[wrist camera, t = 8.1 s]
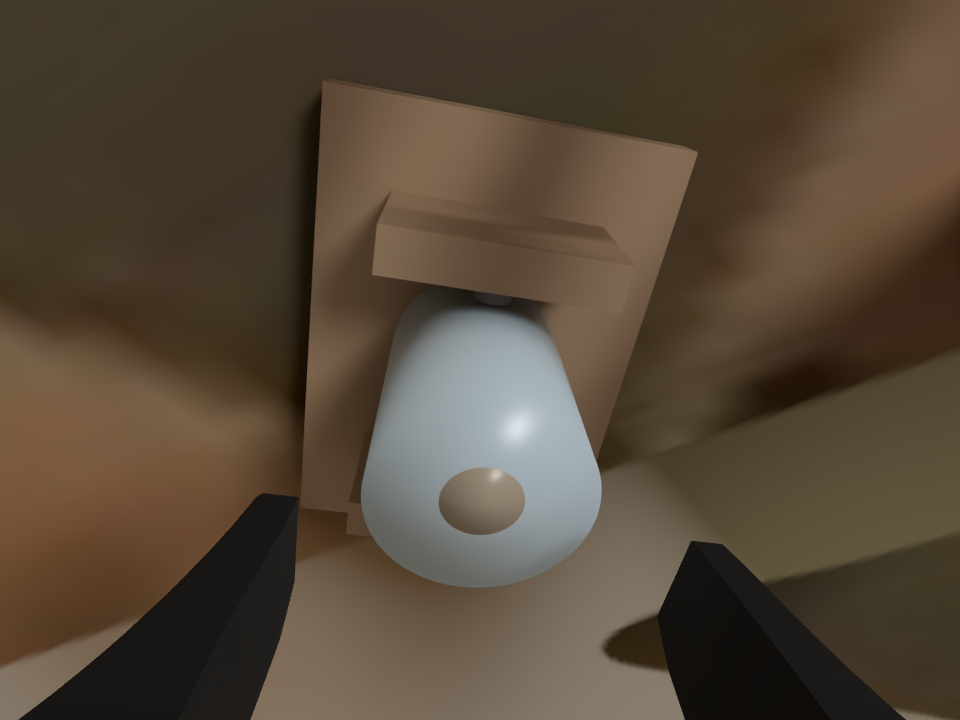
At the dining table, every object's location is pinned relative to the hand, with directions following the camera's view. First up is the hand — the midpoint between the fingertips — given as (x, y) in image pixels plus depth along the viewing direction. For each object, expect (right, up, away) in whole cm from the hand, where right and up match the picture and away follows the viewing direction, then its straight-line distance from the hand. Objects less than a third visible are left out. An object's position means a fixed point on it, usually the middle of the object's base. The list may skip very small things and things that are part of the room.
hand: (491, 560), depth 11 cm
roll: (0, +4, +8) cm, 9 cm away
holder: (-1, +4, +9) cm, 10 cm away
